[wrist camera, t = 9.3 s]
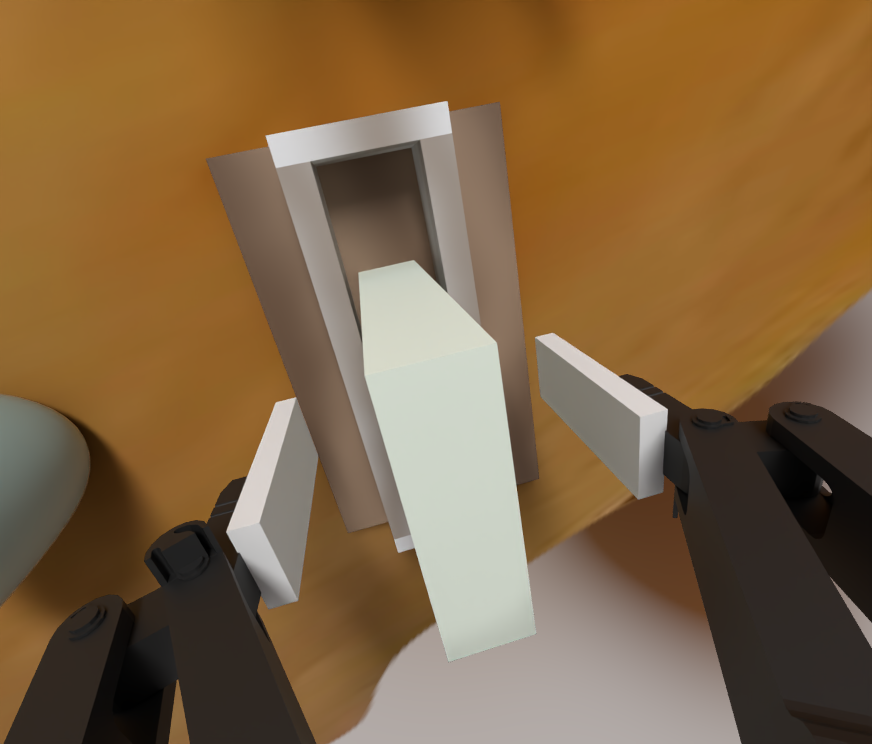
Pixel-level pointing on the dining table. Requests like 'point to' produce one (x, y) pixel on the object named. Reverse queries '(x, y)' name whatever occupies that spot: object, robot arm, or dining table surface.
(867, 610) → the robot arm
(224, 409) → the dining table surface
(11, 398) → the cup
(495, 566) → the pale rectangular block
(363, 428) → the track
